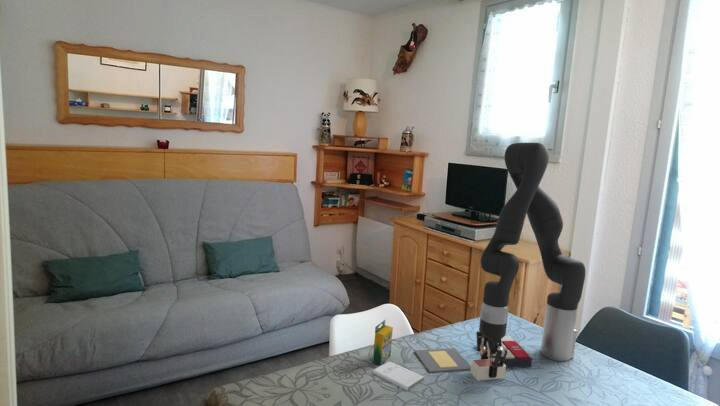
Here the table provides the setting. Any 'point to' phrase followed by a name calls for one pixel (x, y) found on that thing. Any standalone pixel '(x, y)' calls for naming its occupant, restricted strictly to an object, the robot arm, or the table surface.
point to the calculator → (514, 353)
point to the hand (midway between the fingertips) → (487, 372)
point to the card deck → (485, 369)
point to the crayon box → (382, 343)
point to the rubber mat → (442, 360)
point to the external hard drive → (398, 375)
